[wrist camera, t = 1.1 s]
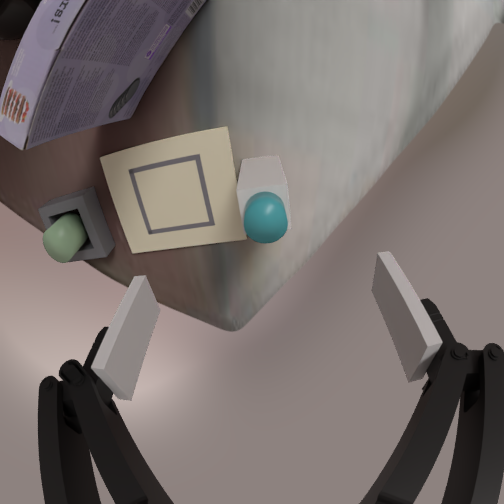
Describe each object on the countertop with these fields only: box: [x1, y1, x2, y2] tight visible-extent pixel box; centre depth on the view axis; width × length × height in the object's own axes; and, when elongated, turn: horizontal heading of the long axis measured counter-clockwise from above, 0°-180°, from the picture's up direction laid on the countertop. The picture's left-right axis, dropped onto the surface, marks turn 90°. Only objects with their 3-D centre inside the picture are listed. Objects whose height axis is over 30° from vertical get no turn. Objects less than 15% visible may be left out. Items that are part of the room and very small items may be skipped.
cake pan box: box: [0, 0, 206, 150], centre depth 15 cm, size 19×5×18 cm, turn 146°
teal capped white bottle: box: [236, 155, 292, 243], centre depth 26 cm, size 4×4×12 cm
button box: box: [38, 187, 115, 262], centre depth 33 cm, size 9×9×3 cm
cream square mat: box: [100, 126, 247, 253], centre depth 32 cm, size 14×16×1 cm
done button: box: [43, 212, 88, 263], centre depth 31 cm, size 5×5×4 cm
